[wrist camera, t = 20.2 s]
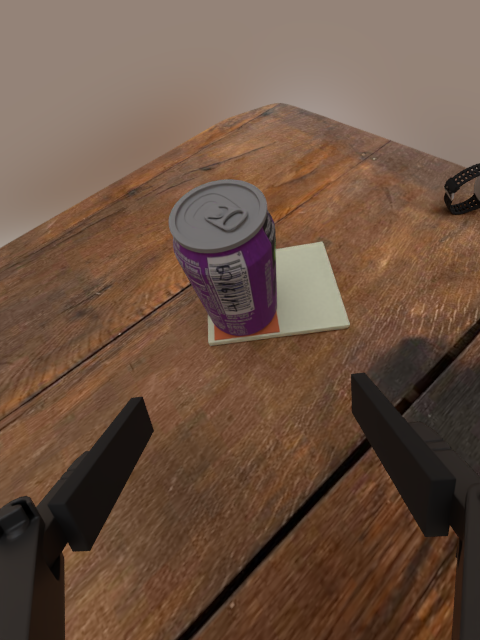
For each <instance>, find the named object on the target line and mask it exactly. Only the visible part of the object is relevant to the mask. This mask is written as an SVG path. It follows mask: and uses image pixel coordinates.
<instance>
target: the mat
mask: <svg viewBox="0 0 480 640" xmlns="http://www.w3.org/2000/svg"><path fill="white" fill-rule="evenodd" d="M276 278H277V309H276V313H275V315H274V317H273V319H272V320H271V322H270V323H269V324H268V325H267V326H266V327H265V328H263V329H262V330H260V331H258V332H256V333H254V334H250V335H245V336H235V335H230V334H227V333H225V332H223V331H221V330H220V329H218V328H217V327H216V326H215V324H214V323H213V322H212V320H211V318H210V316H209V315H208V343H209V345H210V346H213V345H220V344H228V343H236V342H244V341H251V340H259V339H267V338H275V337H283V336H290V335H298V334H306V333H314V332H322V331H329V330H337V329H345V328H348V327H349V326H350V323H349V320H348V317H347V314H346V311H345V308H344V305H343V302H342V299H341V296H340V293H339V290H338V287H337V284H336V280H335V277H334V274H333V271H332V268H331V265H330V262H329V259H328V256H327V253H326V250H325V247H324V244H323V242H318V243H311V244H305V245H299V246H293V247H287V248H281V249H276Z"/></svg>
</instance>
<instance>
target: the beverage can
mask: <svg viewBox="0 0 480 640" xmlns="http://www.w3.org/2000/svg"><path fill="white" fill-rule="evenodd" d="M169 228H170V231H171V233H172V235H173V248H174V253H175V255H176V258H177V259H178V261H179V263H180V265H181V267H182V268H183V270H184V272H185V274H186V276H187V277H188V279H189V281H190V283H191V284H192V286H193V288H194V290H195V292H196V293H197V295H198V297H199V299H200V300H201V302H202V304H203V306H204V307H205V309H206V311H207V313H208V315H209V316H210V318H211V320H212V322H213V323H214V324H215V326H216V327H217V328H218V329H220V330H221V331H223V332H225V333H227V334H230V335H235V336H245V335H250V334H254V333H256V332H258V331H260V330H262V329H263V328H265V327H266V326H267V325H268V324H269V323H270V322H271V320H272V319H273V317H274V315H275V313H276V309H277V278H276V237H275V225H274V221H273V219H272V217H271V215H270V213H269V212H268V210H267V202H266V199H265V197H264V195H263V193H262V192H261V191H260V190H259V189H258V188H257V187H255V186H254V185H252V184H250V183H247V182H244V181H240V180H218V181H213V182H209V183H206V184H203V185H201V186H198V187H196V188H194V189H192V190H191V191H189V192H188V193H186V194H185V195H184V196H183V197H182V198H181V199H180V200H179V201H178V202H177V203H176V204H175V206H174V207H173V209H172V211H171V213H170V217H169Z"/></svg>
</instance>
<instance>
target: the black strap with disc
mask: <svg viewBox="0 0 480 640" xmlns="http://www.w3.org/2000/svg"><path fill="white" fill-rule="evenodd" d="M476 167H477V168H478V169H476ZM471 169H473V171H471ZM467 171H469V173H467ZM479 171H480V164H476V165H473V166H471V167H469V168H467V169H465V170H463V171H461V172H460V173H458V174H457V175H455V176H454V177H453V178H450V179H449V180H448V181H446V184H445V186H444V189H445V191H446V193H445V196H444V201H445V204H446V206H447V207H448V209H449V211H450V212H451V213H452V214H455V215H457V214H463V213H466V212H469V211H473V210H476V209H478V208H480V172H479ZM463 173H465V175H464V176H462V174H463ZM474 173H476V174H474ZM460 175H461V178H459V177H458V176H460ZM469 175H472V176H471V177H470V176H469ZM465 177H467V178H468V179H465ZM475 177H477V178H476V181H475V185H474V195H473V196H472V197H471V198H469V199H468V200H466V201H464V202H462V203H459V204H455V205H451V203H452V200H453V198H454V194H455V192H457V191H458V190H459V189H460V188H459V187H460V186H462V185H463V184H465V183H466V182H468V181H470V180H471V179H473V178H475ZM456 178H457V181H455V179H456ZM462 179H463V180H464V181H463V182H462V181H461V180H462ZM457 182H460V184H457ZM473 200H475V201H474V202H473ZM469 202H471V203H470V204H469ZM464 204H466V206H464ZM475 204H477V205H475ZM460 205H462V207H460ZM456 206H457V207H458V208H457V207H456ZM471 206H473V207H471ZM453 207H454V208H453ZM467 208H468V209H467ZM462 209H464V211H463V210H462ZM459 210H460V211H459Z"/></svg>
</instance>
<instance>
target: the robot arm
mask: <svg viewBox="0 0 480 640" xmlns="http://www.w3.org/2000/svg"><path fill="white" fill-rule="evenodd" d="M351 391H352V413H353V415H354V417H355V418H356V420H357V422H358V424H359V425H360V427H361V429H362V430H363V432H364V434H365V435H366V437H367V439H368V441H369V442H370V444H371V446H372V447H373V449H374V451H375V452H376V454H377V456H378V458H379V459H380V461H381V463H382V464H383V466H384V468H385V469H386V471H387V473H388V475H389V476H390V478H391V480H392V481H393V483H394V485H395V486H396V488H397V490H398V492H399V493H400V495H401V497H402V498H403V500H404V502H405V503H406V505H407V507H408V509H409V510H410V512H411V514H412V515H413V517H414V519H415V520H416V522H417V524H418V526H419V527H420V529H421V531H422V532H423V534H424V536H425V537H435V536H448V532H449V525H450V526H451V527H452V528H453V530H454V531H455V533H456V534H457V536H458V537H459V541H458V547H457V553H456V558H457V568H456V582H455V597H454V611H453V626H452V640H480V477H479V476H478V475H477V474H476V473H475V472H474V471H473V470H472V469H471V468H470V466H469V465H468V464H467V463H466V462H465V461H464V460H463V459H462V458H461V457H460V456H459V455H458V454H457V453H456V452H455V451H454V450H452V449H451V447H450V446H449V445H448V444H447V443H446V442H445V441H443V439H442V438H441V437H440V436H439V435H438V434H437V433H436V432H435V431H434V430H433V429H432V428H430V427H429V426H427V425H425V424H424V423H422V422H410V423H408V422H407V421H406V420H405V419H404V418H403V416H402V415H401V414H400V413H399V412H398V411H397V410H396V408H395V407H394V406H393V405H392V404H391V403H390V401H389V400H388V399H387V398H386V397H385V396H384V395H383V393H382V392H381V391H380V390H379V389H378V388H377V386H376V385H375V384H374V383H373V382H372V381H371V380H370V378H369V377H368V376H367V375H366V374H365V373H357V374H351ZM153 432H154V430H153V427H152V424H151V421H150V418H149V415H148V412H147V409H146V406H145V403H144V399H143V397H136V398H131V399H130V401H129V402H128V403H127V404H126V406H125V407H124V408H123V409H122V411H121V412H120V413H119V414H118V416H117V417H116V418H115V419H114V421H113V422H112V423H111V424H110V426H109V427H108V428H107V429H106V431H105V432H104V433H103V435H102V436H101V437H100V438H99V440H98V441H97V442H96V443H95V445H94V446H93V447H92V448H91V450H90V451H86V452H84V453H83V454H82V455H81V456H80V457H78V458H77V459H76V460H75V461H74V462H73V463H72V465H71V466H70V467H69V468H68V469H67V472H65V473H64V474H63V475H62V477H61V479H60V480H58V482H57V483H56V484H55V485H54V486H53V488H52V489H51V490H50V491H49V492H48V494H47V495H46V496H45V497H44V498H43V500H42V501H41V502H40V503H39V505H38V506H37V507H35V505H34V503H33V501H32V500H31V498H30V497H27V496H24V497H19V498H17V499H15V500H13V501H11V502H9V503H8V504H6V505H5V506H3V507H2V508H1V509H0V640H65V593H64V556H63V553H62V551H63V549H64V547H65V546H66V544H67V543H69V545H70V547H71V549H72V551H73V552H74V551H90V550H91V548H92V546H93V544H94V542H95V540H96V538H97V537H98V535H99V533H100V531H101V529H102V527H103V525H104V523H105V522H106V520H107V518H108V516H109V514H110V512H111V510H112V508H113V507H114V505H115V503H116V501H117V499H118V497H119V495H120V493H121V492H122V490H123V488H124V486H125V484H126V482H127V480H128V478H129V477H130V475H131V473H132V471H133V469H134V467H135V465H136V463H137V462H138V460H139V458H140V456H141V454H142V452H143V450H144V448H145V447H146V445H147V443H148V441H149V439H150V437H151V435H152V433H153Z"/></svg>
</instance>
